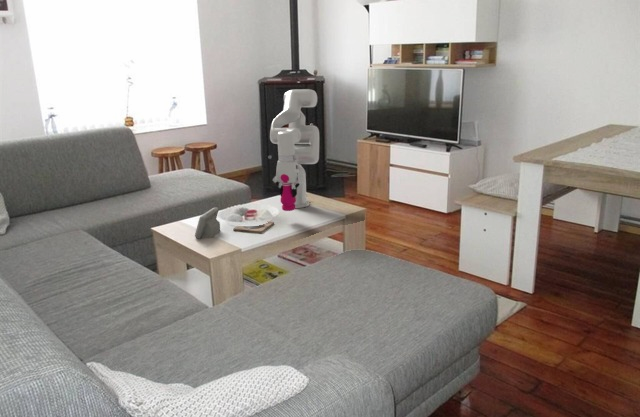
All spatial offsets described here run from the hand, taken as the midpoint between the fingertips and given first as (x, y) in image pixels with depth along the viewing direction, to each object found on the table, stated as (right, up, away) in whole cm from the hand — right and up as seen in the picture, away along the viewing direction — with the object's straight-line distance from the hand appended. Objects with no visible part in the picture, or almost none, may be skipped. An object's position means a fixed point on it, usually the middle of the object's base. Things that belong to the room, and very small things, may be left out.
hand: (288, 195), depth 251 cm
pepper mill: (0, -6, +2) cm, 7 cm away
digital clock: (-36, -18, -11) cm, 41 cm away
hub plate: (-16, -15, -3) cm, 22 cm away
